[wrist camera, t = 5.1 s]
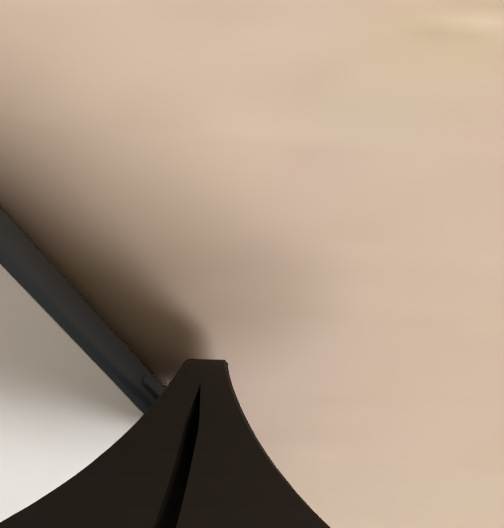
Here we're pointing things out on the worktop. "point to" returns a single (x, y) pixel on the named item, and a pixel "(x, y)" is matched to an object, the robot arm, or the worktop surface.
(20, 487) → the phone case
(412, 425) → the worktop surface
